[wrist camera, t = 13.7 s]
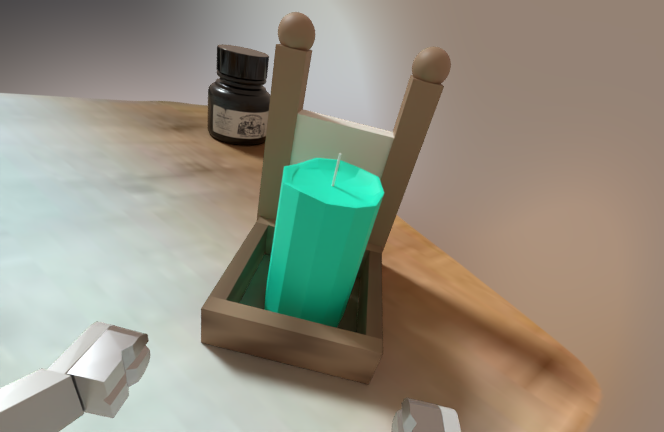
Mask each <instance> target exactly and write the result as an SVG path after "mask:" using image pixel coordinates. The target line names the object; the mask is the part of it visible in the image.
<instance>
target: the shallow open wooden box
mask: <svg viewBox="0 0 664 432" xmlns="http://www.w3.org/2000/svg"><path fill="white" fill-rule="evenodd" d="M275 224H276V220H274V219H270V218H266V217H262V216H260V217H259V219H258V220H257V222H256V223H255V225H254V227H253V228H252V230H251V231H250V233H249V234H248V236H247V238H246V239H245V241H244V242H243V244H242V245H241V247H240V249H239V250H238V252H237V253H236V255H235V256H234V258H233V260H232V261H231V263H230V264H229V266H228V267H227V269H226V271H225V272H224V274H223V275H222V277H221V278H220V280H219V282H218V283H217V285H216V286H215V288H214V289H213V291H212V293H211V294H210V296H209V297H208V299H207V300H206V302H205V304H204V305H203V307H202V308H201V343H205V344H209V345H213V346H217V347H221V348H225V349H229V350H233V351H237V352H241V353H245V354H249V355H253V356H257V357H261V358H265V359H269V360H273V361H277V362H281V363H285V364H289V365H293V366H297V367H301V368H305V369H309V370H313V371H317V372H321V373H325V374H329V375H333V376H337V377H341V378H345V379H349V380H353V381H357V382H361V383H365V384H369V382H370V380H371V378H372V376H373V374H374V372H375V370H376V367H377V365H378V363H379V361H380V359H381V357H382V355H383V331H382V247H381V246H378V245H374V244H370V243H367V246H366V249H365V252H364V255H363V258H362V261H361V264H360V267H359V270H358V273H357V276H356V277H359V278H360V288H359V302H358V315H357V328H356V333H355V332H351V331H347V330H343V329H339V328H335V327H331V326H327V325H323V324H319V323H315V322H311V321H307V320H304V319H300V318H296V317H292V316H288V315H284V314H280V313H276V312H272V311H268V310H264V309H260V308H256V307H252V306H248V305H244V304H240V301H241V299H242V297H243V295H244V293H245V291H246V289H247V287H248V285H249V283H250V281H251V279H252V277H253V275H254V273H255V271H256V269H257V267H258V265H259V263H260V262H261V260H262V258H263V256H264V254H268V255H271V251H272V244H273V238H274V231H275Z"/></svg>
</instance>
